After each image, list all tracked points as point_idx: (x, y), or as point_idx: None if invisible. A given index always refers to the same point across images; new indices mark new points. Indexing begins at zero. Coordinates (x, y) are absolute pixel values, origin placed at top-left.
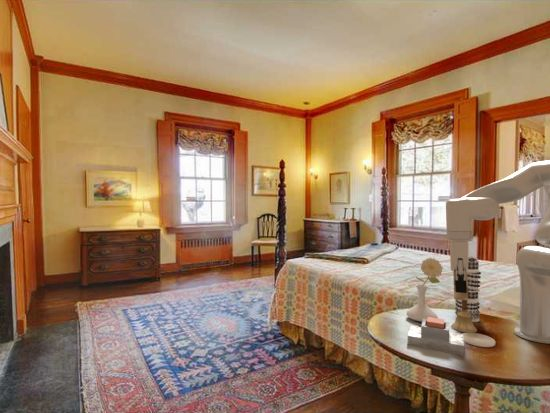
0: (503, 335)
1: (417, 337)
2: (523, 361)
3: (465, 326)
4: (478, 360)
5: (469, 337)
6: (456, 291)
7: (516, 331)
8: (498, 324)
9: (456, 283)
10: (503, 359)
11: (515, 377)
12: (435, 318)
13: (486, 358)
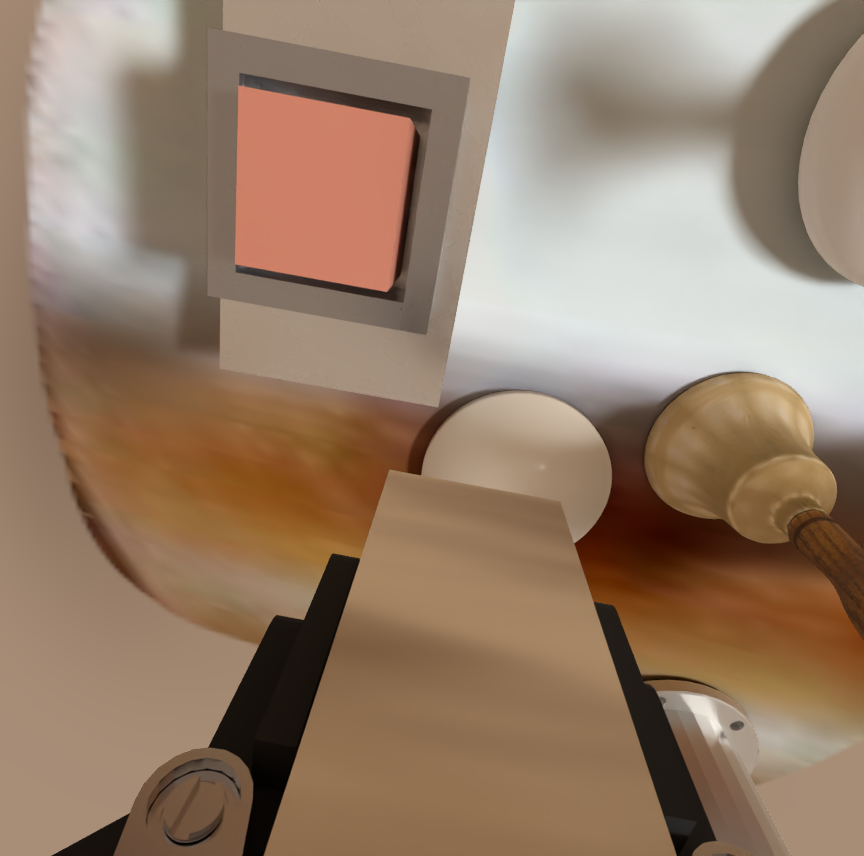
0: (640, 622)
1: (225, 19)
2: (309, 600)
3: (681, 462)
4: (219, 414)
5: (518, 443)
6: (330, 566)
7: (668, 694)
8: (830, 651)
9: (279, 686)
10: (292, 530)
11: (111, 519)
12: (378, 203)
13: (266, 459)
